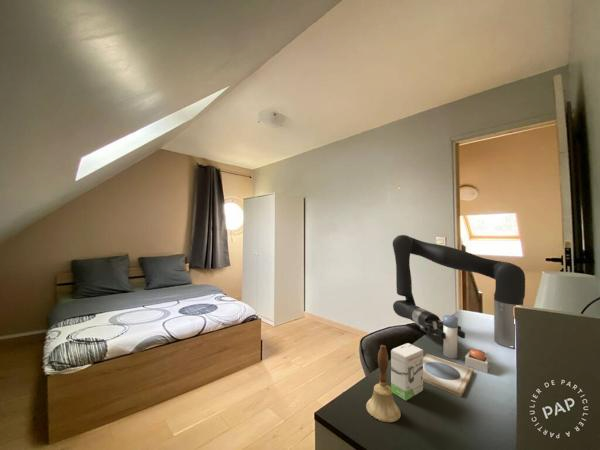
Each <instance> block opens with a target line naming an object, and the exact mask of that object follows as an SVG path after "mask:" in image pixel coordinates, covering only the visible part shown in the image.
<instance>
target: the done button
mask: <svg viewBox="0 0 600 450" xmlns="http://www.w3.org/2000/svg"><path fill="white" fill-rule="evenodd" d="M469 351H470V355H471V357H472V358H474V359H477V360H485V356H486V353H485V351H483V350H481V349H477V348H471V349H470V350H469Z"/></svg>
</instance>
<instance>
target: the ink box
mask: <svg viewBox="0 0 600 450" xmlns="http://www.w3.org/2000/svg"><path fill="white" fill-rule="evenodd" d="M423 357H424V350H423V349H422V348H419V347H418V346H416V345H413V344H411V343H409V342H407V343H404V344H402V345H399V346H397V347H394V348H392V349H391V350H390V362H391V363H390V365H391V367H390V377H391V378H390V388H391V389H392V394H394V395H396V396H398V397H399V398H401V399H402V400H404V401H406V402H407V401H408V400H410V399H412V398H413V397H415V396H416V395H418V394H419V393H421V392H422V391H424V381H423Z"/></svg>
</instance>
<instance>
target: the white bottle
mask: <svg viewBox="0 0 600 450" xmlns="http://www.w3.org/2000/svg"><path fill="white" fill-rule="evenodd" d="M442 321H443V332H444V333H445V334H446V339H442V340H443V341H442V343H443V345H442V351H443V353H442V354H443V356H445V357H446V358H449V359H457V358H458V336H457V327H458V326H459V325H458V323H459V322H458V321H459V320H458V317H457V316H453V315H449V314H444V315H443V316H442Z"/></svg>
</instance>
